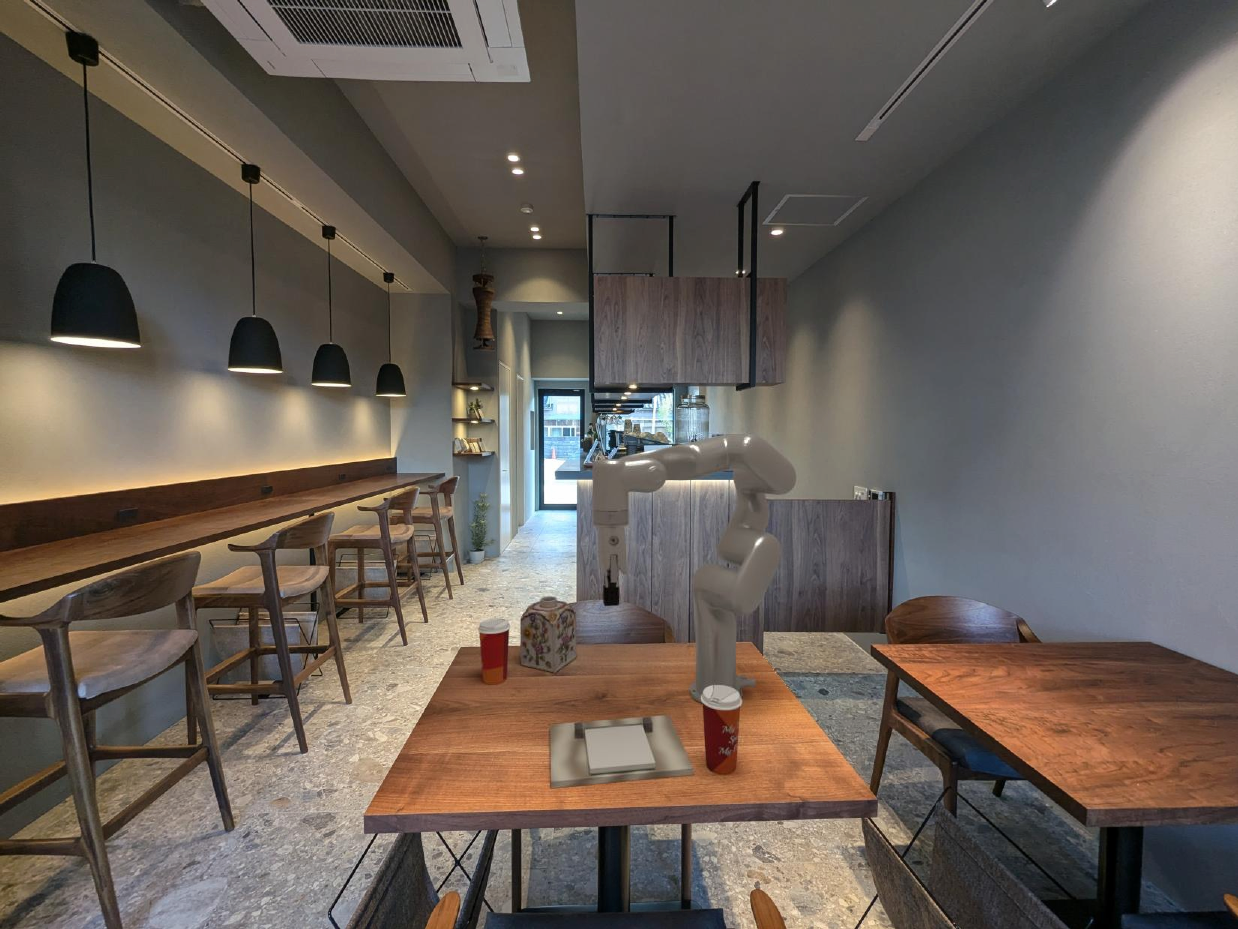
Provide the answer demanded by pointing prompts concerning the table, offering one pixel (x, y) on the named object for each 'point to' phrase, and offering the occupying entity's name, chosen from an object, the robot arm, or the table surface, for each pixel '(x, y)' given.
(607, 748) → the glazed tile
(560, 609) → the decorative jar
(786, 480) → the robot arm
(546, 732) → the table surface
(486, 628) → the coffee cup
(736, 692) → the paper cup
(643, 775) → the tile board
